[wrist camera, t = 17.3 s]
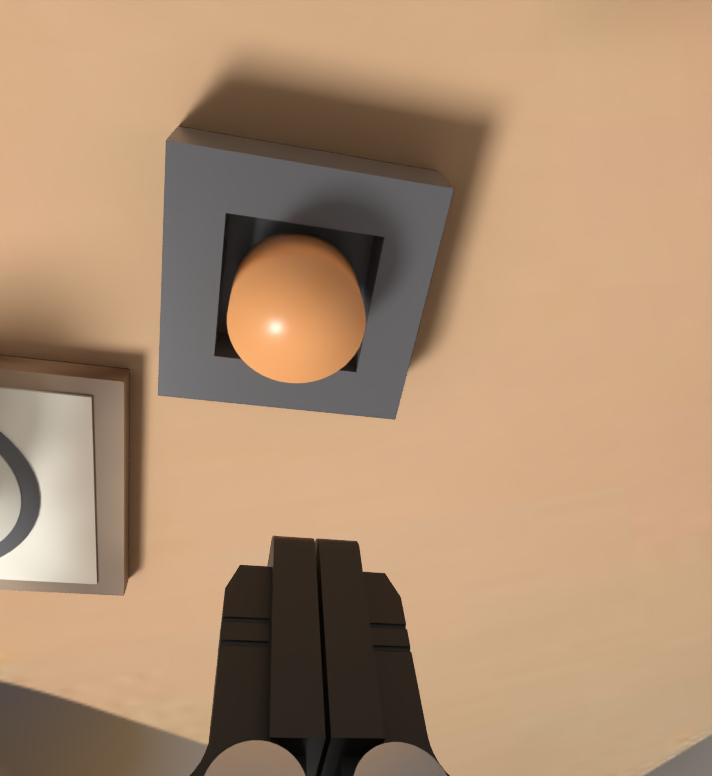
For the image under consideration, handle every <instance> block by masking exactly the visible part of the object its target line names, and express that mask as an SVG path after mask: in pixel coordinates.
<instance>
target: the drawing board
mask: <svg viewBox="0 0 712 776" xmlns="http://www.w3.org/2000/svg"><path fill="white" fill-rule="evenodd" d="M129 376H130V369H122V368H113V367H104V366H95V365H85V364H76V363H67V362H57V361H48V360H39V359H29V358H20V357H11V356H2V355H0V590H18V591H38V592H59V593H79V594H100V595H120V596H124V594H125V590H126V587H127V583H128V557H129Z"/></svg>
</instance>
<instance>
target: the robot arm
mask: <svg viewBox="0 0 712 776" xmlns="http://www.w3.org/2000/svg"><path fill="white" fill-rule="evenodd" d="M190 776H449V775H448V774H447V773H446V771H445V770H444V769H443V768H442V766H441V765H440V764H439V762H438V760H437V759H436V757H435V755H434V753H433V751H432V749H431V746H430V743H429V739H428V736H427V731H426V725H425V720H424V715H423V710H422V705H421V700H420V694H419V689H418V684H417V679H416V674H415V669H414V663H413V658H412V653H411V652H410V643H409V638H408V632H407V629H406V622H405V617H404V612H403V607H402V601H401V597H400V595H399V594H398V592H397V591H396V589H395V588H394V586H393V585H392V583H391V582H390V580H389V579H388V577H387V576H386V574H385V573H372V572H363V571H362V563H361V556H360V549H359V544H358V542H357V541H345V540H330V539H316V541H314V539H312V538H297V537H282V536H273V537H272V541H271V547H270V554H269V560H268V566H267V567H266V566H249V565H240V566H239V568H238V569H237V571H236V572H235V574H234V575H233V577H232V579H231V580H230V582H229V583H228V585H227V586H226V588H225V595H224V604H223V613H222V622H221V630H220V639H219V648H218V658H217V668H216V677H215V687H214V697H213V706H212V716H211V726H210V735H209V744H208V746H207V749H206V752H205V754H204V756H203V758H202V760H201V762H200V763H199V765H198V766H197V768H196V769H195V771H194V772H193V773H192V774H191V775H190Z"/></svg>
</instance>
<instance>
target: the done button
mask: <svg viewBox="0 0 712 776" xmlns="http://www.w3.org/2000/svg"><path fill="white" fill-rule="evenodd" d="M365 326H366V315H365V308H364V304H363V300H362V296H361V293H360V289H359V285H358V281H357V277H356V274H355V271H354V269H353V266H352V264H351V263H350V261H349V260H348V258H347V257H346V256H345V254H344V253H343V252H342V251H341V250H340V249H339V248H338V247H337V246H335V245H334V244H332V243H331V242H330V241H328V240H326V239H324V238H322V237H319V236H317V235H314V234H309V233H305V232H285V233H280V234H276V235H273V236H270V237H268V238H266V239H264V240H262V241H260V242H259V243H257V244H256V245H255V246H253V247H252V248H251V249H250V250H249V251H248V252H247V253H246V254H245V255H244V257H243V258H242V260H241V261H240V263H239V265H238V267H237V269H236V272H235V275H234V279H233V284H232V290H231V295H230V300H229V306H228V312H227V329H228V334H229V337H230V340H231V343H232V345H233V347H234V349H235V351H236V352H237V354H238V355H239V356H240V358H241V359H242V360H243V361H244V362H245V363H246V364H247V365H248V366H249V367H250V368H252V369H253V370H255V371H256V372H258V373H259V374H261V375H263V376H265V377H268V378H270V379H273V380H276V381H280V382H286V383H307V382H313V381H317V380H320V379H323V378H326V377H328V376H330V375H332V374H334V373H335V372H337V371H338V370H340V369H341V368H343V367H344V366H345V365H346V364H347V363H348V362H349V361H350V360H351V359H352V357H353V356H354V355H355V354H356V352H357V350H358V349H359V347H360V344H361V342H362V340H363V336H364V333H365Z"/></svg>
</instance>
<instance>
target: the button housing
mask: <svg viewBox="0 0 712 776" xmlns="http://www.w3.org/2000/svg"><path fill="white" fill-rule="evenodd" d="M453 191H454V188H453V187H452V186H451V185H450V184H449V183H448V182H447V180H446V179H445V178H444V177H443V176H442V175H441V174H440V173H439V172H438V171H434V170H429V169H423V168H417V167H411V166H405V165H400V164H394V163H388V162H382V161H376V160H371V159H365V158H359V157H353V156H348V155H342V154H336V153H330V152H324V151H319V150H313V149H307V148H301V147H295V146H290V145H284V144H278V143H272V142H266V141H261V140H255V139H249V138H243V137H238V136H232V135H226V134H220V133H214V132H209V131H203V130H197V129H191V128H185V127H180V126H178V127H177V128H176V129H175V130H174V132H173V133H172V134H171V135H170V136H169V137H168V138H167V140H166V156H165V188H164V219H163V251H162V283H161V314H160V346H159V377H158V396H168V397H178V398H188V399H198V400H208V401H218V402H227V403H237V404H247V405H257V406H267V407H277V408H286V409H296V410H306V411H316V412H326V413H336V414H345V415H355V416H365V417H375V418H385V419H395V418H396V415H397V411H398V407H399V403H400V399H401V395H402V391H403V387H404V383H405V379H406V375H407V371H408V367H409V363H410V359H411V356H412V352H413V348H414V344H415V340H416V336H417V332H418V328H419V324H420V320H421V316H422V312H423V308H424V304H425V301H426V297H427V293H428V289H429V285H430V281H431V277H432V273H433V269H434V265H435V261H436V257H437V253H438V249H439V246H440V242H441V238H442V234H443V230H444V226H445V222H446V218H447V214H448V210H449V206H450V202H451V198H452V194H453ZM285 232H305V233H309V234H314V235H317V236H319V237H322V238H324V239H326V240H328V241H330V242H331V243H332V244H334V245H335V246H337V247H338V248H339V249H340V250H341V251H342V252H343V253H344V254H345V256H346V257H347V258H348V260H349V261H350V263H351V264H352V266H353V269H354V271H355V274H356V277H357V281H358V285H359V289H360V293H361V296H362V300H363V304H364V308H365V315H366V326H365V333H364V336H363V340H362V342H361V344H360V347H359V349H358V350H357V352H356V354H355V355H354V356H353V357H352V359H351V360H350V361H349V362H348V363H347V364H346V365H345V366H344V367H343V368H341V369H340V370H338V371H337V372H335V373H334V374H332V375H330V376H328V377H326V378H323V379H320V380H317V381H313V382H307V383H286V382H280V381H276V380H273V379H270V378H268V377H265V376H263V375H261V374H259V373H258V372H256V371H255V370H253V369H252V368H250V367H249V366H248V365H247V364H246V363H245V362H244V361H243V360H242V359H241V358H240V356H239V355H238V354H237V352H236V351H235V349H234V347H233V345H232V343H231V340H230V337H229V334H228V329H227V312H228V306H229V300H230V295H231V290H232V284H233V279H234V275H235V272H236V269H237V267H238V265H239V263H240V261H241V260H242V258H243V257H244V255H245V254H246V253H247V252H248V251H249V250H250V249H251V248H252V247H253V246H255V245H256V244H257V243H259V242H260V241H262V240H264V239H266V238H268V237H270V236H273V235H276V234H280V233H285Z"/></svg>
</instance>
